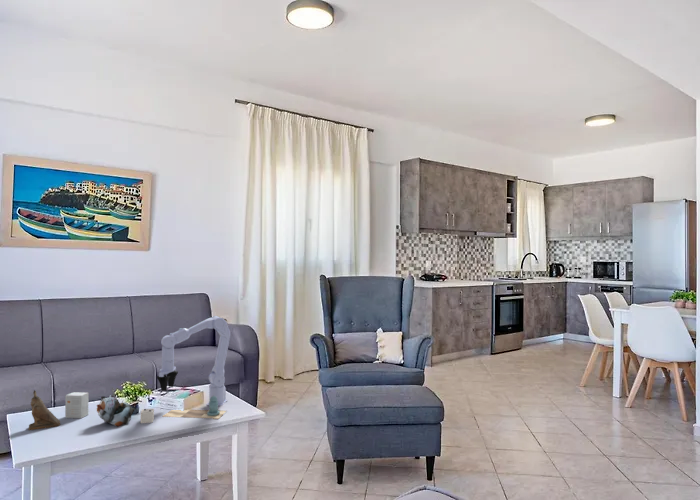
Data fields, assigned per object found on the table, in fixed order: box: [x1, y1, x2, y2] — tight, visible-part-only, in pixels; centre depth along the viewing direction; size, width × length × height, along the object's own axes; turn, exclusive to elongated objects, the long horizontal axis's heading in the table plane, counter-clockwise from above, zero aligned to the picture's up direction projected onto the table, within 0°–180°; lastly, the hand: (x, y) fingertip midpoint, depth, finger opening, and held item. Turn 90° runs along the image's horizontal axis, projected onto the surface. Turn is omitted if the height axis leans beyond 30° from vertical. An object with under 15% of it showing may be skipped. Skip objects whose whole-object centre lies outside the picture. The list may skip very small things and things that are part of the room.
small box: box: [64, 391, 89, 419], centre depth 234 cm, size 8×6×10 cm
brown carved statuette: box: [28, 390, 61, 431], centre depth 218 cm, size 12×6×18 cm, turn 117°
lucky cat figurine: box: [96, 394, 135, 427], centre depth 225 cm, size 15×12×14 cm
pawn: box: [207, 396, 221, 416], centre depth 238 cm, size 6×6×8 cm
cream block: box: [140, 408, 155, 424], centre depth 227 cm, size 5×5×6 cm
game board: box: [162, 408, 227, 420], centre depth 238 cm, size 12×27×1 cm, turn 85°
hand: (167, 388), depth 245 cm, fingers open, 7 cm apart
